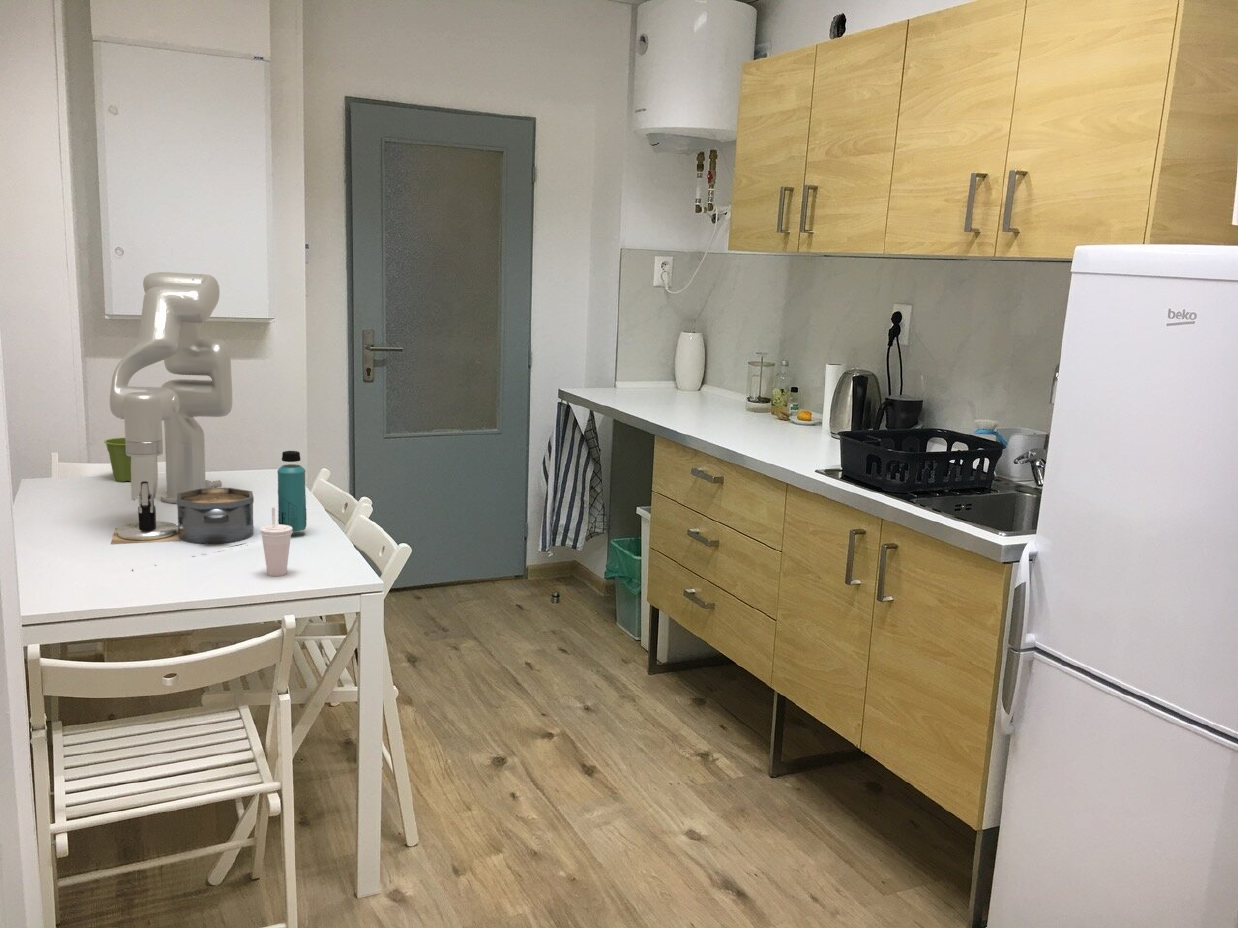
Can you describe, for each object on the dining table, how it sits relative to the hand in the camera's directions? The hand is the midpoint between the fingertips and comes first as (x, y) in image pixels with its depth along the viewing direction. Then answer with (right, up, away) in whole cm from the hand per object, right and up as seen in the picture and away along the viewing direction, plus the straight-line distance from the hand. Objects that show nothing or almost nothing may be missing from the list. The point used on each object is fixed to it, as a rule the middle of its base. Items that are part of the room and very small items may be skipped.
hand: (147, 526), depth 230 cm
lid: (0, -1, 0) cm, 1 cm away
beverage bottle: (+30, -3, +9) cm, 31 cm away
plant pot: (-32, +9, +58) cm, 67 cm away
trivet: (0, -3, 0) cm, 3 cm away
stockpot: (+15, -3, +3) cm, 15 cm away
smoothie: (+36, -9, -20) cm, 42 cm away
